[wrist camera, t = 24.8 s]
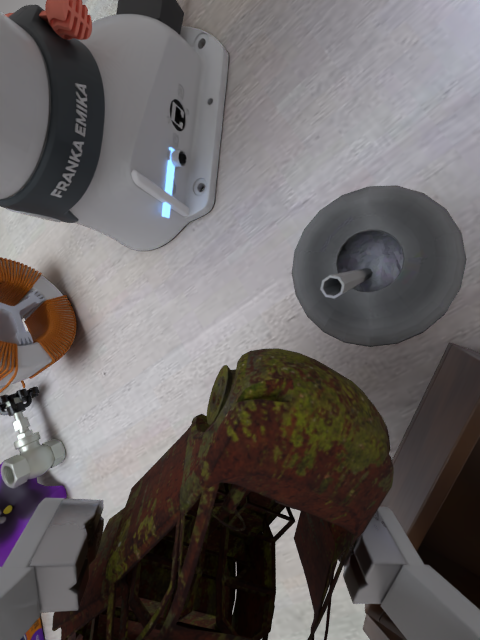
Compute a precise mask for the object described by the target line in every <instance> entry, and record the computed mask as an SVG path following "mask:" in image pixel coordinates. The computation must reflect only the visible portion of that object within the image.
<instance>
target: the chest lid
mask: <svg viewBox="0 0 480 640" xmlns="http://www.w3.org/2000/svg"><path fill="white" fill-rule="evenodd" d="M363 630H364V632H365V633H366V634H367V636H368V637H369V639H370V640H404V639H402V638H401V637H400V636H398V635H397V634H395V633H394V632H392V631H391V630H390V629H388V628H387V627H385V626H384V625H383V624H381V623H380V622H378V621H377V620H375V619H374V618H373V617H371V616H370V615H368V614H366V617H365V621H364V625H363Z"/></svg>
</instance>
